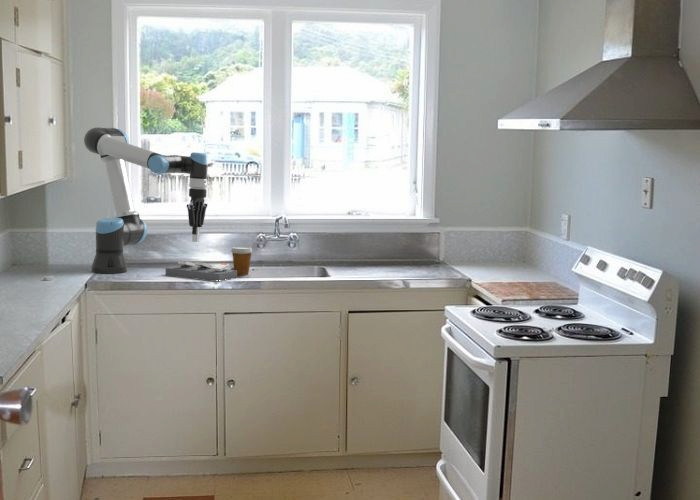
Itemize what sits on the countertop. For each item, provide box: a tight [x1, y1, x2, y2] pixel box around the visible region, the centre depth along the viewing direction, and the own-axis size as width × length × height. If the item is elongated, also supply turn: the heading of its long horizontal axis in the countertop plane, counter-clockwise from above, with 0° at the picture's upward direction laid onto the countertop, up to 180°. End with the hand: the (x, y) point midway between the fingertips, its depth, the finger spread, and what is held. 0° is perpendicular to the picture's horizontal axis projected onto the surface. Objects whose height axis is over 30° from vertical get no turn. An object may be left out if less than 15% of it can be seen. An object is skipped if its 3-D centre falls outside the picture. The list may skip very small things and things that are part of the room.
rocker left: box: [177, 260, 196, 266], centre depth 376 cm, size 4×7×1 cm, turn 155°
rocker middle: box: [194, 261, 213, 269], centre depth 372 cm, size 4×7×1 cm, turn 155°
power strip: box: [164, 264, 238, 282], centre depth 371 cm, size 28×14×4 cm, turn 65°
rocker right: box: [212, 262, 230, 271], centre depth 368 cm, size 4×7×1 cm, turn 155°
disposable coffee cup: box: [230, 246, 253, 276], centre depth 382 cm, size 10×10×12 cm
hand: (195, 241), depth 372 cm, fingers closed
